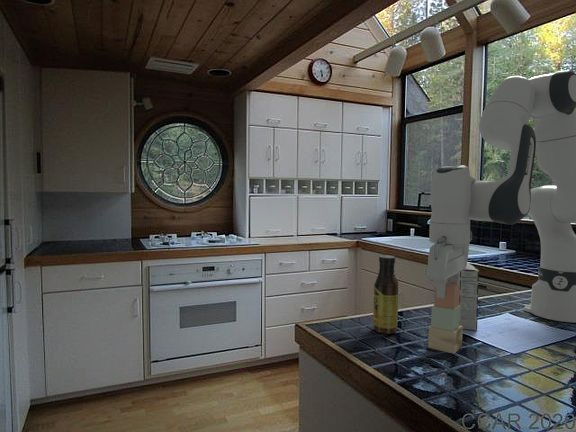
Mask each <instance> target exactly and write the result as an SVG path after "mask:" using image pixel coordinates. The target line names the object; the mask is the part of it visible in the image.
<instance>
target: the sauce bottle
mask: <svg viewBox="0 0 576 432" xmlns="http://www.w3.org/2000/svg"><path fill="white" fill-rule="evenodd" d="M378 262H379V269H378V274H377V277H376V280H375V282H374V284H373V311H372V312H373V315H372V316H373V319H372V324H373V329H374V330H375V332H377V333H380V334H387V335H389V334H390V335H391V334H394V333H396V332H397V331H398V321H399V319H398V318H399V315H398V314H399V281H398V278H397V277H396V275H395V263H396V257H395V255H394V256H393V255H387V254H383V255H379V256H378Z"/></svg>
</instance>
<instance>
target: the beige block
mask: <svg viewBox="0 0 576 432" xmlns="http://www.w3.org/2000/svg"><path fill="white" fill-rule="evenodd" d="M463 331H464V330H463V326H460V325H459V327H458V328H457V329H455V330H454V331H453V332H452V331H447V330H443V329H438V328H433V327H431V325H430V326H428V339H427V340H428V341H427V342H428V343H427V346H428V347H427V348H428V349H432V350H437V351H440V352H445V353H449V354H454V355H455V354H456V353H457V352H458V351H459V350H460V349H461V348H462V347H463Z"/></svg>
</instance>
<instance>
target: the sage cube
mask: <svg viewBox="0 0 576 432" xmlns="http://www.w3.org/2000/svg"><path fill="white" fill-rule="evenodd" d="M430 317H431V318H430V321H431V322H430V326H431V327H433V328H438V329H443V330H447V331H452V332H453V331H454V330H455V329H457V328H458V327H459V325H460V305H459V306H458V307H456V308H455V309H448V308H442V307H436V306H434V304H433V305H432V306H431V316H430Z"/></svg>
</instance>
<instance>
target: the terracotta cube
mask: <svg viewBox="0 0 576 432" xmlns="http://www.w3.org/2000/svg"><path fill="white" fill-rule="evenodd" d="M445 288H446V290H447V291H446V297H445V298H443V299H442V298H438V297H437V290H436V286H435V285H434V296H433V297H434V299H433V300H434V301H433V305H434V306H436V307H442V308H448V309H455V308H456V307H458V306H459V298H460V284H453V283H449V282H446V284H445Z"/></svg>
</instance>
